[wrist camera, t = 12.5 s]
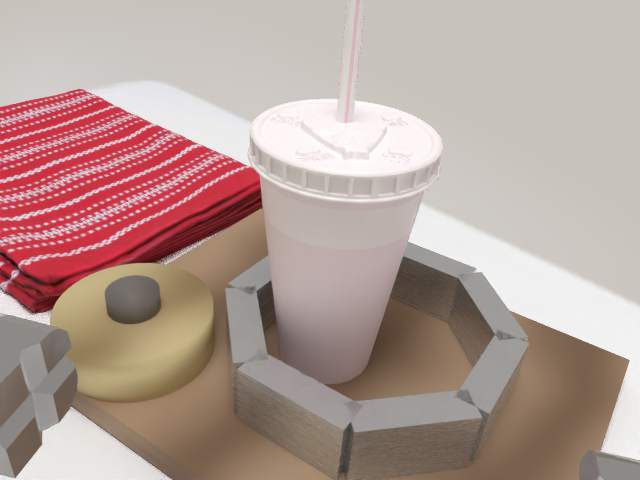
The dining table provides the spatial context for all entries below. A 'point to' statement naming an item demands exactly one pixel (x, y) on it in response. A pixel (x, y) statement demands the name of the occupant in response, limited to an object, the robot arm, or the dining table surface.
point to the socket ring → (387, 413)
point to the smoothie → (338, 214)
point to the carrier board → (213, 366)
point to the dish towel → (103, 193)
